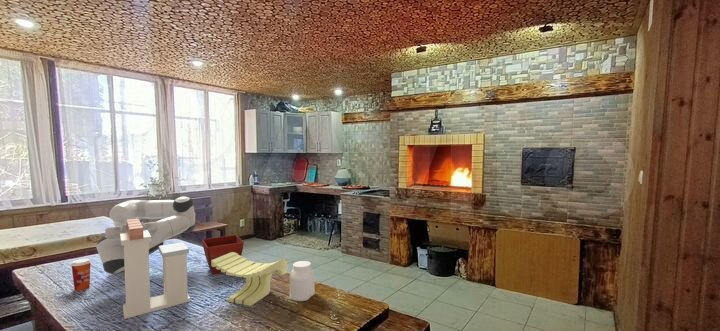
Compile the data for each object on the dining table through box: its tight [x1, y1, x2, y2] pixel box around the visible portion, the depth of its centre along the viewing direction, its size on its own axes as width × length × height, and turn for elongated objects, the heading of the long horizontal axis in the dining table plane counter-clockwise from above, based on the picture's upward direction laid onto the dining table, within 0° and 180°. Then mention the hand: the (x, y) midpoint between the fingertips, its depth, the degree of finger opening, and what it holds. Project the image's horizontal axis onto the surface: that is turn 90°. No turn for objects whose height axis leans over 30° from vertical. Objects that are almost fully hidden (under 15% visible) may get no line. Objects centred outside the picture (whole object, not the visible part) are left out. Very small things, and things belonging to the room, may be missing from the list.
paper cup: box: [70, 258, 92, 292], centre depth 157 cm, size 8×8×14 cm
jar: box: [288, 260, 316, 302], centre depth 148 cm, size 12×10×15 cm
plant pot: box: [201, 234, 245, 276], centre depth 182 cm, size 19×19×17 cm
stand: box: [120, 230, 191, 320], centre depth 140 cm, size 14×24×32 cm, turn 129°
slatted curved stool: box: [211, 252, 288, 307], centre depth 147 cm, size 30×16×18 cm, turn 70°
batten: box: [127, 218, 144, 240], centre depth 137 cm, size 24×4×4 cm, turn 39°
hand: (133, 224), depth 145 cm, fingers closed on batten, 4 cm apart
